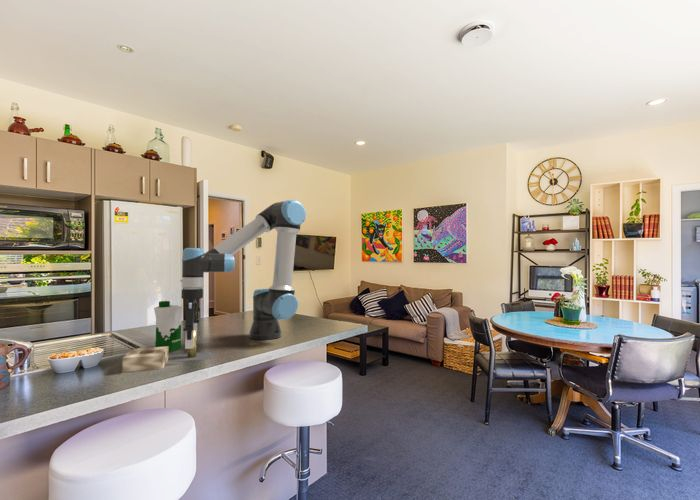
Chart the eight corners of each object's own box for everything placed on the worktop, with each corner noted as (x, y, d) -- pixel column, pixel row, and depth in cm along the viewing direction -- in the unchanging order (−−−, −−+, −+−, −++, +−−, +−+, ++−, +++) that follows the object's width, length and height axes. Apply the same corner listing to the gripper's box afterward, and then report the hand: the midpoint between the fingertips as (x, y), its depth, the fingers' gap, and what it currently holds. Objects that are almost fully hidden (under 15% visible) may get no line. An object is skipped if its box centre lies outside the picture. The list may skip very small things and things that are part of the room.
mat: (212, 352, 142) (212, 351, 142) (210, 359, 133) (210, 358, 133) (173, 355, 138) (173, 354, 138) (169, 363, 128) (169, 362, 128)
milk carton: (166, 347, 150) (166, 300, 150) (185, 348, 148) (185, 300, 149) (150, 352, 142) (151, 302, 142) (170, 354, 140) (171, 303, 140)
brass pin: (196, 355, 137) (196, 329, 137) (195, 357, 134) (196, 331, 134) (187, 355, 136) (188, 329, 136) (187, 358, 133) (187, 331, 133)
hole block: (168, 359, 133) (168, 346, 133) (162, 369, 121) (162, 355, 121) (131, 362, 129) (132, 348, 129) (122, 373, 117) (122, 358, 118)
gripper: (185, 285, 146) (184, 337, 146) (177, 291, 122) (175, 353, 122) (205, 285, 149) (204, 336, 148) (200, 291, 125) (199, 351, 124)
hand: (191, 343), depth 135 cm, fingers open, 13 cm apart
